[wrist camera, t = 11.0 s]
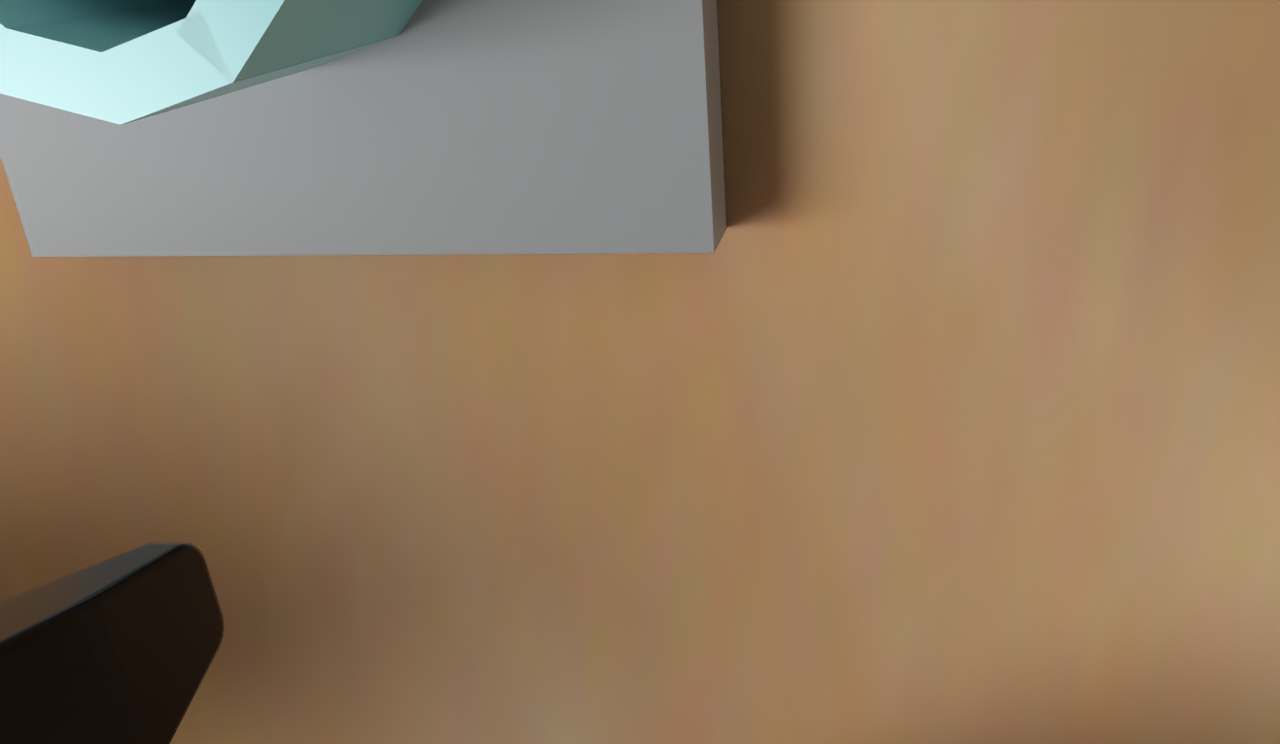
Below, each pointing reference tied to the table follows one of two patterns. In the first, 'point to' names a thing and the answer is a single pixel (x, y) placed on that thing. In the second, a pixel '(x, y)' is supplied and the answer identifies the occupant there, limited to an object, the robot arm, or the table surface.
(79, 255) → the flat gray panel
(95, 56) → the mug with handle
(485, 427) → the table surface
